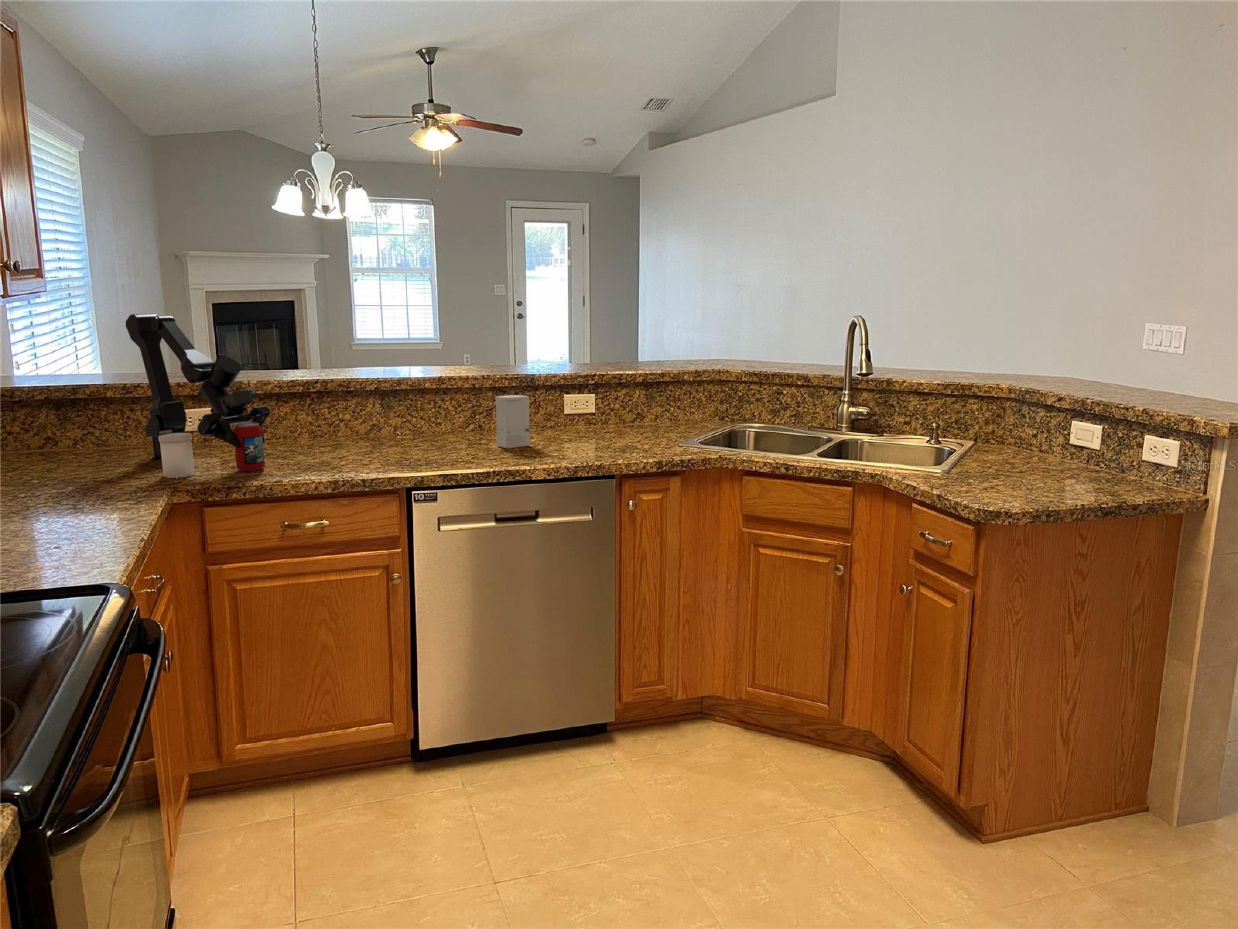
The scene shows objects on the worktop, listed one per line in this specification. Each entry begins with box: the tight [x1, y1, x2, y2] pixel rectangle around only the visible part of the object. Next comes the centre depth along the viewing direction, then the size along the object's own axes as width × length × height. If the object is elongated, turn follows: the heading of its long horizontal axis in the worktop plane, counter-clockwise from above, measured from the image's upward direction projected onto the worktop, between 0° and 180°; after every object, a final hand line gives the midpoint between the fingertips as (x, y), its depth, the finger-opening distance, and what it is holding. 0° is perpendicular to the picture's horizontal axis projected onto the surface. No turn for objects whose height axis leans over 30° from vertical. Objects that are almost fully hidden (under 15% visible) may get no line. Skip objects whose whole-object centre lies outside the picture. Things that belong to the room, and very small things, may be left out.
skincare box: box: [495, 394, 531, 450], centre depth 262 cm, size 8×6×15 cm
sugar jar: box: [159, 432, 195, 479], centre depth 224 cm, size 7×7×10 cm
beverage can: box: [232, 422, 266, 472], centre depth 230 cm, size 7×7×12 cm
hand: (252, 445), depth 229 cm, fingers closed on beverage can, 7 cm apart
